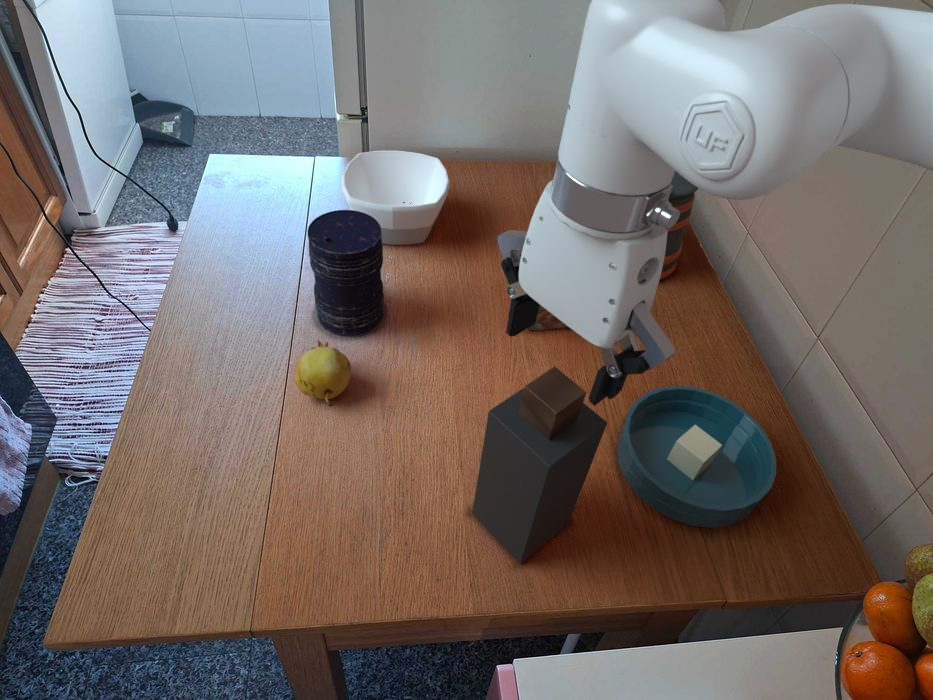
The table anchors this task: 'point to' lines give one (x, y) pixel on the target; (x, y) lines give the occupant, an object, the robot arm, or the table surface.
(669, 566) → the table surface
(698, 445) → the cream block
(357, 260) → the storage jar
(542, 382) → the walnut block
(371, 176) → the bowl
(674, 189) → the beer stein
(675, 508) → the bowl
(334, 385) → the fruit
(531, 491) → the stand
